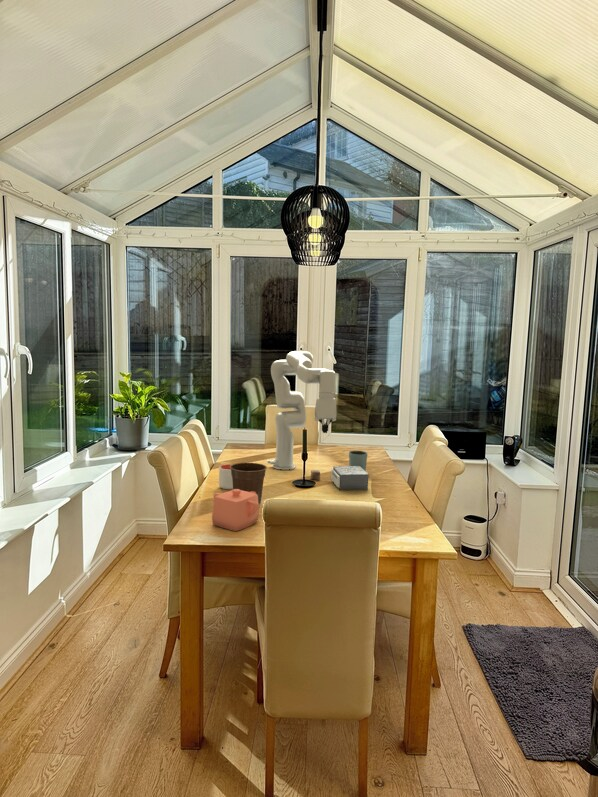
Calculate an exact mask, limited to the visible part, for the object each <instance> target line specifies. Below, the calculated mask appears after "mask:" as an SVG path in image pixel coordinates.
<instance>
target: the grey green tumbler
mask: <svg viewBox="0 0 598 797" xmlns="http://www.w3.org/2000/svg"><path fill="white" fill-rule="evenodd" d="M348 461H349V465H348V466H360V467H361V468H362V469H363V470H364V471H366V472H367V464H368V463H367V462H368V451H363V450H350V451H348Z"/></svg>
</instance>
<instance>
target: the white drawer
mask: <svg viewBox="0 0 598 797" xmlns="http://www.w3.org/2000/svg"><path fill="white" fill-rule="evenodd" d="M330 471H331V472H330V474H331V475H330V480H331V481H332V483H333V482H334V483H333V484H334V485H335V486H336V488H337V487H338V488H340V476H339V475H338V474H337V473H336V472H335V470H334V469H333V468H331V470H330ZM338 488H337V489H338Z"/></svg>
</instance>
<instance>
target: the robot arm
mask: <svg viewBox="0 0 598 797" xmlns="http://www.w3.org/2000/svg"><path fill="white" fill-rule="evenodd" d="M313 363H314V356H313V354H312V353H311V352H309V351H305V350H303V351H301V350H294V351H290V352H289V353H287V354H286V357H285V359H279V360H275V361H273V362H272V364H271V366H270V375H271V379H272V381H273V384H274V385H273V386H274V392H275V393H274V394H275V395H274V396H275V401H276V406H277V408H278V409H281V410H283V411H280V412H277V414H276V415H275V419H274V420H275V426H276V445H275V446H276V447H275V458H274V459H267V461H266V462H267V464H270V465H272V468H274V469H276V470H280V469H282V470H283V471H285V470H286V471H287V470H288V471H289V469H290V470H293V469H296V464H294V441H295V440H294V437H295V436H294V433H293V432H292V431H291V430H292V429H296V428H298V429H299V428H303V427H305V425H306V424H307V414H306V406H305V405H306V404H305V398H304V396H303V394H302V392H300V391H291V385H290V382H289V380H288V378H287V377H286V376H296V377H297V379H299V380H300V381H301V382H303V383H305V384H308V385H309V384H310V385H312V384H317V385H318V397H316V400H315V401H316V402H315V407H314V421H317V422H319V423H320V424H321V432H322V433H323V434H328V432H329V425H330V424H331V423H332V422H335V421H337V401H336V397H338V393H336V392H335V387H336V386H335V384H336V372H335V370H331V369H327V368H315V367H314V368H312V367H313ZM288 409H293V410H288Z"/></svg>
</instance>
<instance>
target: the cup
mask: <svg viewBox="0 0 598 797" xmlns="http://www.w3.org/2000/svg"><path fill="white" fill-rule="evenodd" d="M231 465H232V464H222V465H220V466H218V468H219V469H218V470H219V471H218V472H219V473H218V474H219V475H218V486H219V488H221V489H223V490H233V481H232V476H231V469H230V466H231Z"/></svg>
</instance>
